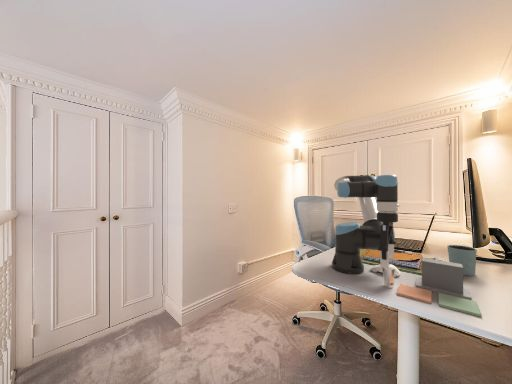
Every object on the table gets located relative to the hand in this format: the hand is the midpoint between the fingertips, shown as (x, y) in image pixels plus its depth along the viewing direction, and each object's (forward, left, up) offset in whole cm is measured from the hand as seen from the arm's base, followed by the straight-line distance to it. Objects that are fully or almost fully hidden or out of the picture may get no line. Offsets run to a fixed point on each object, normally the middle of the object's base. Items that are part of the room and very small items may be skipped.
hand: (387, 263), depth 85 cm
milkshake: (0, 0, -10) cm, 10 cm away
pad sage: (+21, -1, -10) cm, 23 cm away
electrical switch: (+16, +23, -10) cm, 30 cm away
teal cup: (+25, +40, -10) cm, 48 cm away
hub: (+17, +10, -10) cm, 22 cm away
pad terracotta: (+9, -1, -10) cm, 13 cm away
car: (-3, +16, -10) cm, 19 cm away
